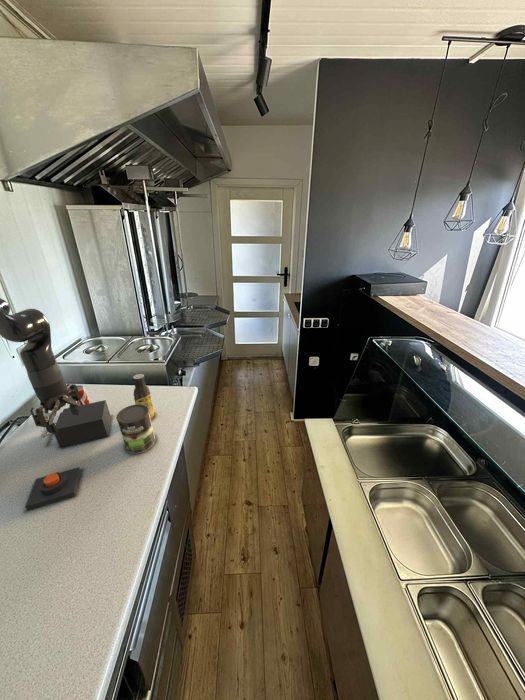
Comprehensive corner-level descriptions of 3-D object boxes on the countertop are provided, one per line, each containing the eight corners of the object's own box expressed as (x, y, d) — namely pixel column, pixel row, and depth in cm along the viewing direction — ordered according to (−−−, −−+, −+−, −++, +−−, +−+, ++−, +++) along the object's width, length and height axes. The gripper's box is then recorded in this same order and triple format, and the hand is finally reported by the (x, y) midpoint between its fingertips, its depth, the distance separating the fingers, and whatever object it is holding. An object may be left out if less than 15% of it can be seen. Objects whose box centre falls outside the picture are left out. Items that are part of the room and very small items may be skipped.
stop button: (44, 489, 84) (41, 484, 83) (47, 479, 87) (45, 475, 86) (58, 485, 85) (56, 480, 84) (61, 475, 88) (59, 471, 87)
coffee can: (154, 451, 100) (146, 420, 94) (123, 457, 99) (112, 425, 92) (157, 432, 110) (150, 402, 103) (129, 436, 108) (120, 406, 102)
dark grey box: (63, 448, 103) (55, 429, 99) (70, 426, 114) (63, 408, 110) (108, 437, 108) (102, 418, 104) (111, 417, 118) (105, 400, 114)
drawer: (43, 450, 101) (36, 435, 98) (51, 430, 111) (45, 415, 108) (101, 436, 107) (95, 421, 104) (104, 418, 117) (99, 404, 113)
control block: (28, 511, 81) (22, 502, 79) (38, 483, 90) (33, 474, 88) (76, 497, 85) (71, 488, 83) (81, 471, 93) (78, 462, 92)
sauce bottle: (143, 425, 113) (132, 383, 104) (136, 418, 117) (124, 377, 108) (158, 417, 117) (149, 376, 109) (151, 411, 121) (141, 370, 113)
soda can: (71, 414, 121) (62, 390, 116) (87, 405, 126) (79, 382, 120) (79, 419, 117) (70, 395, 112) (95, 411, 122) (87, 387, 117)
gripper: (56, 366, 89) (73, 408, 96) (12, 391, 76) (35, 438, 83) (77, 367, 87) (92, 410, 94) (35, 394, 75) (56, 441, 82)
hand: (65, 423), depth 89 cm, fingers open, 8 cm apart
